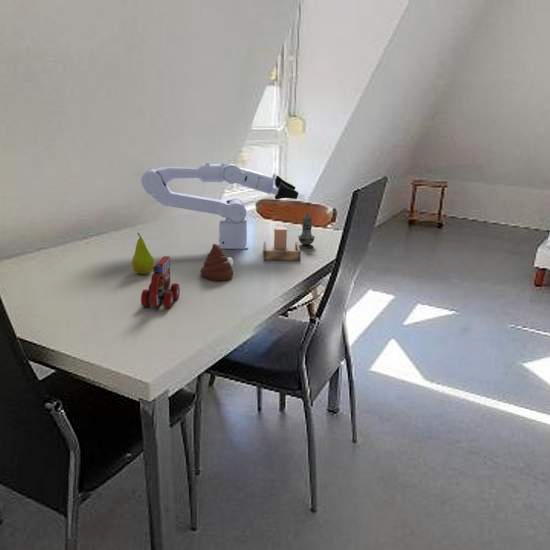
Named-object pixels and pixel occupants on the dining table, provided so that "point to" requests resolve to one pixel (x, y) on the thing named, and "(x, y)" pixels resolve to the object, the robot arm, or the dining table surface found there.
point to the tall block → (280, 237)
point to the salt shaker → (306, 234)
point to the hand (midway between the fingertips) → (296, 192)
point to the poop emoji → (217, 265)
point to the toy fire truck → (161, 286)
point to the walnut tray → (282, 254)
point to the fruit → (142, 258)
